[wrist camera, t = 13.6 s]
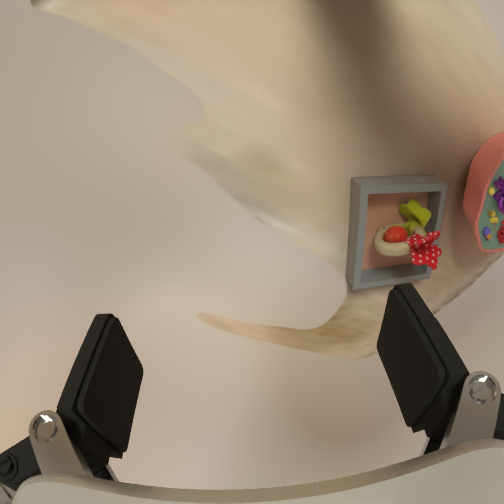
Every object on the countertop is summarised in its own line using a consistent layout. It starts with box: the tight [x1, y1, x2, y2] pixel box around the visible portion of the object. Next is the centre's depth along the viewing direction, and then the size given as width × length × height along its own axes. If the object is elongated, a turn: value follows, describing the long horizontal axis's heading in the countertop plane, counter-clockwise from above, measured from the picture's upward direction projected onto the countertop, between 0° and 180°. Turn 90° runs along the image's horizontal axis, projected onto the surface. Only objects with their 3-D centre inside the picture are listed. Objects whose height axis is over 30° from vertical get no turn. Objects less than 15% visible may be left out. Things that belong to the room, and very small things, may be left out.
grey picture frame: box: [346, 175, 448, 290], centre depth 39 cm, size 15×13×4 cm
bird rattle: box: [373, 199, 442, 270], centre depth 36 cm, size 6×11×9 cm
